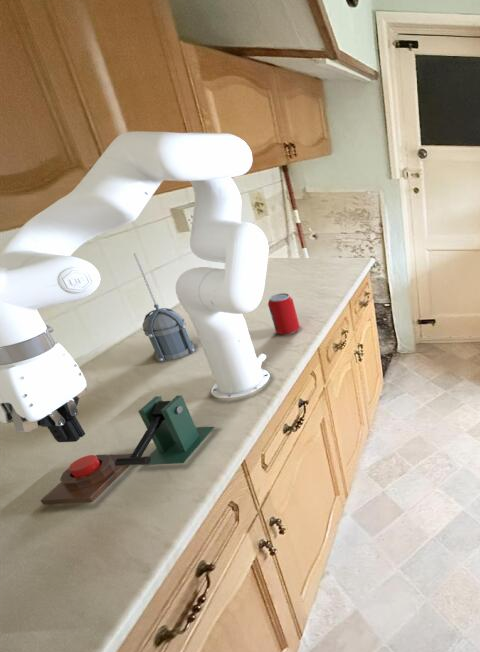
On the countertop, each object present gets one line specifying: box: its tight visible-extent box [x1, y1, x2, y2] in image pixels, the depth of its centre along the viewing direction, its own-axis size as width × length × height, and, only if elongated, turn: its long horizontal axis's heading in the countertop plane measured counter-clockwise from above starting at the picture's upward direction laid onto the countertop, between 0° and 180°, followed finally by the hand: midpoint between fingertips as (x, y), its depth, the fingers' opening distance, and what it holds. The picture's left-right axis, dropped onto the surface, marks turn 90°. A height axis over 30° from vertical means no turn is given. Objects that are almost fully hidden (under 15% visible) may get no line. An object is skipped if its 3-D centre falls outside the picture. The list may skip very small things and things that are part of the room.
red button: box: [68, 454, 101, 477], centre depth 72 cm, size 4×4×2 cm
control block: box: [39, 453, 132, 506], centre depth 73 cm, size 10×8×4 cm
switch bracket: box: [138, 395, 216, 466], centre depth 79 cm, size 10×8×12 cm
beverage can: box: [267, 292, 300, 336], centre depth 124 cm, size 7×7×12 cm
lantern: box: [133, 252, 196, 363], centre depth 108 cm, size 11×11×30 cm
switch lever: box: [115, 400, 171, 466], centre depth 74 cm, size 12×5×2 cm, turn 5°
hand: (71, 438), depth 69 cm, fingers closed
